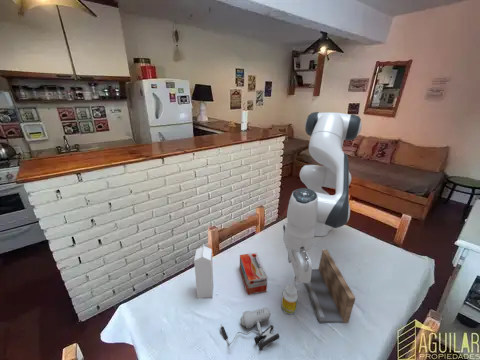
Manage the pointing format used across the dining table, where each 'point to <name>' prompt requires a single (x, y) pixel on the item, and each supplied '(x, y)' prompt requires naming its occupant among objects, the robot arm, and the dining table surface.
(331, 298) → the board
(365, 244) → the dining table surface
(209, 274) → the milk
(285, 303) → the supplement bottle
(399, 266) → the dining table surface
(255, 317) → the clip-on lamp
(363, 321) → the dining table surface
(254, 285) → the medicine box
